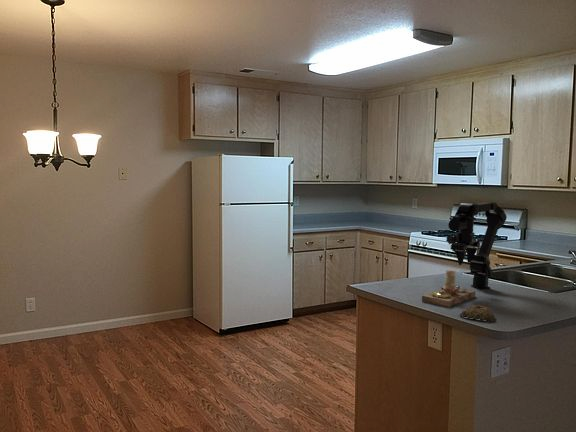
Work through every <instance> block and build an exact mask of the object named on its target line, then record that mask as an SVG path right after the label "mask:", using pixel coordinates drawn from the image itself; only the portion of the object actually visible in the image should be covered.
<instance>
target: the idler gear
mask: <svg viewBox="0 0 576 432" xmlns="http://www.w3.org/2000/svg"><path fill="white" fill-rule="evenodd" d="M456 272H457V271H456V270H453V269H446V270H445V282H444V285H442V286H440V290H444V291H445V292H447V293H449V294H451V295H452V296H453V295H454V292H457V291H458V290H459V288H456V287H455V286H456Z"/></svg>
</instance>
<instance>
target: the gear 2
mask: <svg viewBox="0 0 576 432" xmlns="http://www.w3.org/2000/svg"><path fill="white" fill-rule="evenodd" d="M455 287H456V288H459V290H458V291H457V292H459V293H461V292H466V290H468V289H467V288H465V287H463V286H460V285H455Z"/></svg>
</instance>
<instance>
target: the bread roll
mask: <svg viewBox="0 0 576 432" xmlns="http://www.w3.org/2000/svg"><path fill="white" fill-rule="evenodd" d="M461 316H463V317H468V318H473V319H480V320H486V321H492V322H494V321H495V318H496V316H495V314H494V311H493V310H492V309H491V308H489V307H487V306H485V305H481V304H478V305H475V304H474V305H471V306H469V307H467V308H466V309H464V310H463V311H461V313H460V314H459V317H461ZM493 320H494V321H493Z"/></svg>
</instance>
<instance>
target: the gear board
mask: <svg viewBox="0 0 576 432" xmlns="http://www.w3.org/2000/svg"><path fill="white" fill-rule="evenodd" d="M437 291H444V290H441V289H438V290H436V291H434V292H437ZM444 292H445V291H444ZM475 297H476V291H475V290H472V289H471V290H470V289H467V290H466V292H461V293H459V292H454V295H453V296H452V295H451V298H446V299H443V298H436V297H434V296H432V292H429V293H426V294H422V295H421V302H423V303H428V304H433V305H437V306H441V307H445V306H446V307H445V308H450V307H452V305H453V306H455V305H458V304H461V303H463V302H465V300H466V301H467V300H470V298H471V299H473V298H475ZM462 301H463V302H462ZM457 303H458V304H457ZM454 304H455V305H454ZM449 306H450V307H449Z"/></svg>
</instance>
